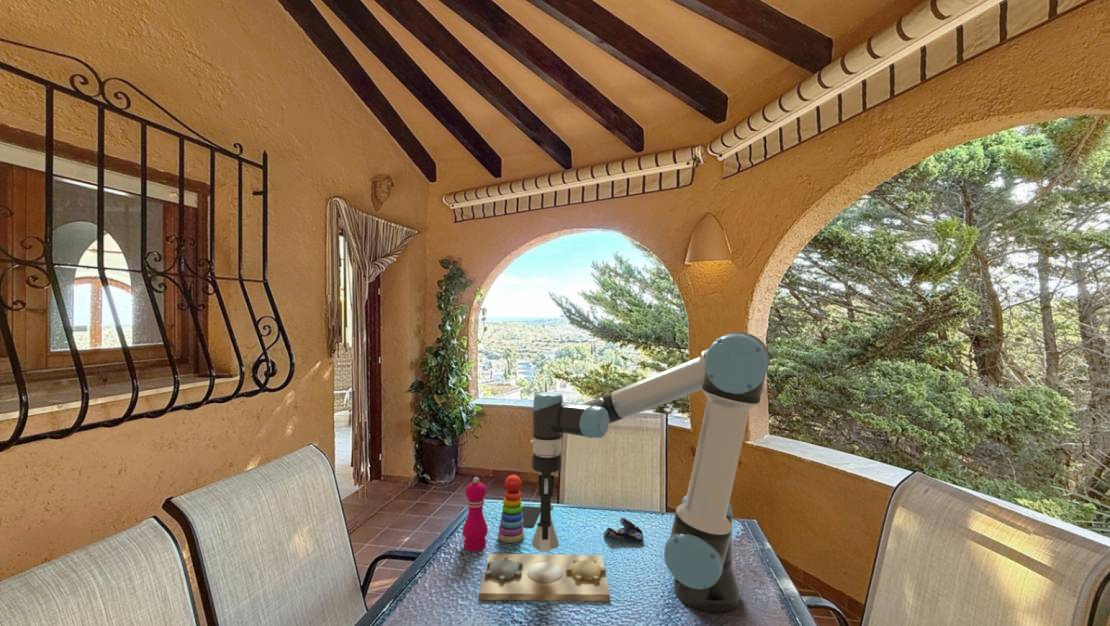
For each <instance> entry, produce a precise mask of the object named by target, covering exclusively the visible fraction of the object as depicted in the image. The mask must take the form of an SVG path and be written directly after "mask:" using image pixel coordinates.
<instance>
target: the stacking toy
mask: <svg viewBox="0 0 1110 626" xmlns="http://www.w3.org/2000/svg"><path fill="white" fill-rule="evenodd" d="M504 487H505V489H506V491H505V492H504V498H503V500H502V503H503V505H502V512H501V518H500V520H499V521H500V523H499V525H498V533H497V536H498V537H497V538H498V539H499V540H500V541H501V542H503V543H508V544H509V543H510V544H513V543H514V544H515V543H518V542H520V541H522V540H523V539H524V537H525V531H524V529H525V527H523V518H522V516H523V513H522V506H523V505H522V499H521V496H522V493H521V490H520V489H521V487H522V480H521V478H520V477H519V476H518V474H517V475H516V474H511V475H510V474H509V476H507V477H506V479H505V481H504Z"/></svg>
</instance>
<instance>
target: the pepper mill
mask: <svg viewBox="0 0 1110 626" xmlns="http://www.w3.org/2000/svg"><path fill="white" fill-rule="evenodd" d="M486 495H487V488H486V486H485V484H484V483H483V482H480V478H479V477H477V476H475V477H473V479H472V482H470V483H469V484H468V485H467V486H466V488H465V496H466V498H467V500H466V502H467V503H466V506H467V507H468V514H467V517H466V520H465V522H464V524H463V527H462V536H463V538H464V541H463V548H464V550H465V551H469V552H478V551H482V550H483V549H485V547H486V546H487V539H486V536H487V535H488V534H489V533H488V532H489V530H488V525H487V521H486V519H485V517H484V513H483V511H484V510H483V506H484V505H485V497H486Z"/></svg>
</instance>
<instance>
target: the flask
mask: <svg viewBox="0 0 1110 626" xmlns="http://www.w3.org/2000/svg"><path fill="white" fill-rule="evenodd" d="M552 506H553V504H551V509H552ZM539 507H540V508H541V503H540V504H539ZM539 516H540V517H539V520H538V523H540V518H541V514H540V515H539ZM552 519H553V518H552V513H551V514H550V522H551V537H550V551H552V550H554V549H557V548H559V545H560V544H559V542H560V541H559V538H558V535H557V532H556V530H555V526H554V523H553V520H552ZM539 542H540V526H537V525H536V529H535V532H534V535H533V537H532V540H531V546H532V547H533V548H534V549H536V550H537V551H539Z"/></svg>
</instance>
